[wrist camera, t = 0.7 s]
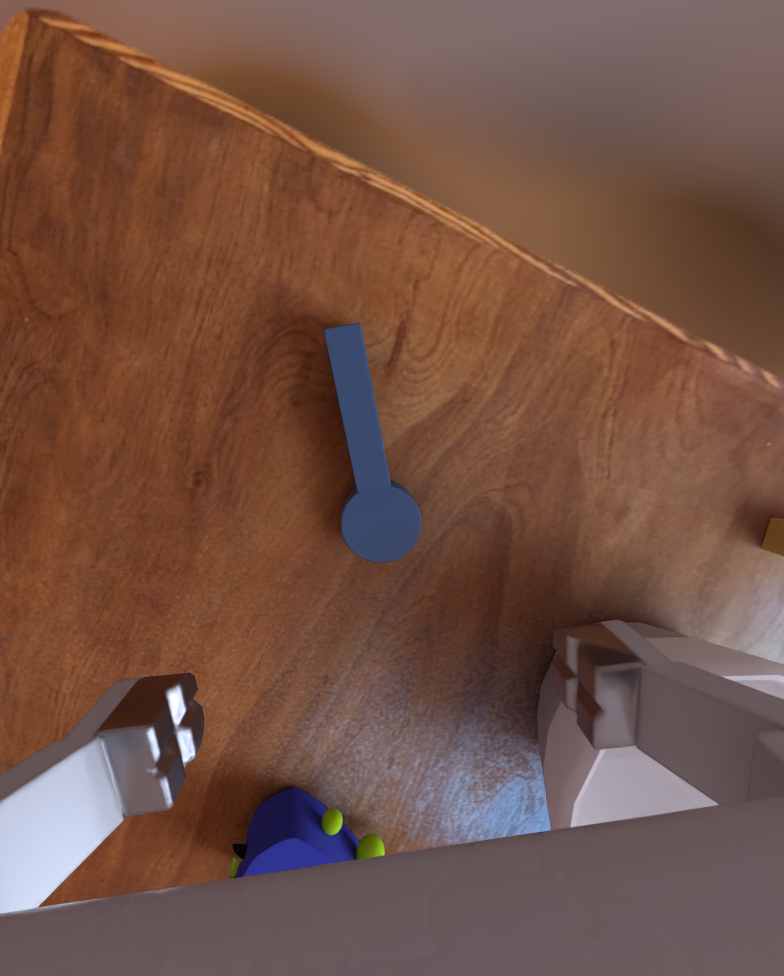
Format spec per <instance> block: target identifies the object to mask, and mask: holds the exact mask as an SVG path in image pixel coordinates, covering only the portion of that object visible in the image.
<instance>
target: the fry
mask: <svg viewBox="0 0 784 976" xmlns="http://www.w3.org/2000/svg"><path fill="white" fill-rule="evenodd" d="M761 548H762V549H764V550H767V551H770V552H773V553H775V554H778V555H781V556H784V519H782V518H771V519H770V522H769V525H768V528H767V531H766V534H765V537H764V540H763V544H762V547H761Z"/></svg>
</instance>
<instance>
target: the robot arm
mask: <svg viewBox="0 0 784 976" xmlns="http://www.w3.org/2000/svg"><path fill="white" fill-rule="evenodd" d="M552 646H553V647H554V648H555V650H556V651H557V652H558V655H557V656H556V657H555V659H554V660H553V662H552V676H553V680H554V684H555V688H556V691H557V693H558V695H559V697H560V699H561V701H562V702H563V704H564V705H565V707H566V708H568V709H570V710H571V711H573V712H575V713H577V725H578V726H579V728H580V729H581V731H582V732H583V734H584V735H585V737H586V738H587V739H588V741H589V742H590V744H591V745H592V747H593V748H594V750H601V749H610V748H619V747H629V746H636V748H637V749H639V750H640V751H642V752H643V753H644V754H646V755H647V756H649V757H650V758H652V759H653V760H655V761H656V762H658V763H659V764H660V765H662V766H663V767H665V768H666V769H668V770H669V771H671V772H672V773H674V774H675V775H676V776H678V777H679V778H681V779H682V780H684V781H685V782H687V783H688V784H690V785H691V786H693V787H694V788H695V789H697V790H698V791H700V792H701V793H703V794H704V795H706V796H707V797H709V798H710V799H711V800H713V801H714V802H716V803H717V804H719V805H715V806H709V807H702V808H696V809H689V810H683V811H676V812H670V813H663V814H657V815H650V816H644V817H637V818H631V819H624V820H617V821H611V822H604V823H597V824H590V825H584V826H577V827H570V828H563V829H557V830H550V831H543V832H537V833H530V834H523V835H516V836H510V837H503V838H496V839H489V840H483V841H476V842H469V843H462V844H456V845H449V846H443V847H436V848H429V849H423V850H416V851H410V852H403V853H396V854H390V855H383V856H376V857H370V858H363V859H357V860H350V861H343V862H337V863H330V864H324V865H317V866H310V867H304V868H297V869H291V870H284V871H277V872H271V873H264V874H258V875H251V876H244V877H238V878H231V879H224V880H218V881H211V882H204V883H198V884H191V885H185V886H178V887H171V888H165V889H158V890H151V891H145V892H138V893H131V894H125V895H118V896H112V897H105V898H98V899H92V900H85V901H78V902H72V903H65V904H59V905H52V906H45V907H39V908H37V907H38V906H39V905H40V904H41V903H42V902H43V901H44V900H45V899H46V898H47V897H48V896H49V895H50V894H51V893H52V892H53V891H54V890H55V889H56V888H57V887H58V886H59V885H60V884H61V883H62V882H63V881H64V880H65V879H66V878H67V877H68V876H69V875H70V874H71V873H72V872H73V871H74V870H75V869H76V868H77V867H78V866H79V865H80V864H81V863H82V862H83V861H84V860H85V859H86V858H87V857H88V856H89V855H90V854H91V853H92V852H93V851H94V850H95V849H96V848H97V847H98V846H99V845H100V844H101V843H102V842H103V841H104V840H105V838H106V837H107V836H108V835H109V834H110V833H111V832H112V831H113V830H114V829H115V828H116V827H117V826H118V825H119V824H120V823H121V822H122V821H123V820H124V819H123V817H129V816H135V815H141V814H147V813H152V812H158V811H164V810H170V809H171V808H172V805H173V803H174V801H175V799H176V797H177V795H178V793H179V791H180V789H181V786H182V784H183V782H184V780H185V778H186V773H185V769H184V766H185V765H186V764H188V763H189V762H190V761H191V760H192V759H193V758H194V757H196V754H197V752H198V750H199V748H200V745H201V742H202V737H203V732H204V714H203V709H202V706H201V705H199V704H198V703H197V702H196V701H195V700H194V699H193V697H194V696H195V694H196V692H197V690H198V687H197V683H196V679H195V676H194V675H192V674H191V673H181V674H171V675H161V676H151V677H144V678H133V679H125V680H120V681H117V682H115V683H113V684H112V685H111V686H110V688H109V689H108V690H107V691H106V692H105V693H104V694H103V695H102V696H101V698H100V699H99V700H98V701H97V702H96V703H95V704H94V705H93V707H92V708H91V709H90V710H89V711H88V712H87V713H86V714H85V715H84V717H83V718H82V719H81V720H80V721H79V722H78V723H77V724H76V726H75V727H74V728H73V729H72V730H71V731H70V732H69V733H68V734H67V736H66V737H65V738H64V739H63V740H62V741H56V742H52V743H51V744H49V745H47V746H46V747H44V748H43V749H41V750H39V751H38V752H36V753H34V754H33V755H31V756H29V757H28V758H26V759H24V760H23V761H21V762H20V763H18V764H16V765H15V766H13V767H11V768H10V769H8V770H6V771H5V772H3V773H1V774H0V976H784V699H781V698H778V697H775V696H773V695H770V694H767V693H765V692H762V691H759V690H756V689H754V688H751V687H748V686H746V685H743V684H740V683H737V682H735V681H732V680H729V679H727V678H724V677H721V676H718V675H716V674H713V673H710V672H708V671H705V670H702V669H699V668H697V667H694V666H691V665H689V664H686V663H683V662H680V661H679V662H672V661H671V660H670V659H668V658H667V657H666V656H665V655H664V654H662V653H661V652H660V651H659V650H658V649H656V648H655V647H654V646H653V645H652V644H650V643H649V642H648V641H647V640H645V639H644V638H643V637H642V636H641V635H639V634H638V633H637V632H636V631H635V630H633V629H632V628H631V627H630V626H629V625H627V624H626V623H625V622H624V621H621V620H618V619H617V620H611V621H604V622H598V623H594V624H587V625H580V626H573V627H565V628H558V629H554V632H553V635H552Z"/></svg>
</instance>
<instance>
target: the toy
mask: <svg viewBox="0 0 784 976" xmlns="http://www.w3.org/2000/svg"><path fill="white" fill-rule="evenodd" d="M233 850H234V852H235V853H236V855H237V856H238V857H240V858H241V859H243V860H242V861H241V862H240V864H239V866H238V860H236V859H235V856H233V861H232V867H231V874H230V879H231V878H238V877H244V876H251V875H258V874H264V873H271V872H277V871H284V870H291V869H297V868H304V867H310V866H317V865H324V864H330V863H337V862H343V861H350V860H357V859H363V858H370V857H376V856H383V855H384V853H385V851H384V845H383V842H382V840H381V839H380V838H379V837H378V836H377V835H375V834H368V835H366V836H365V837H363V838H362V839H361V841H359V840H358V839H357V838H356V837H355V835H354V834H353V833H352V832H351V831H350V829H349V828H348V827H347V826H346V825H345V824H344V823H343V818H342V814H341V812H340V811H339V810H338V809H336V808H330V809H328V808H327V807H326V806H325V805H324V804H322V803H321V802H319V801H318V800H316V799H315V798H313V797H312V796H310V795H309V794H307V793H305V792H303V791H302V790H300V789H298V788H291V789H287V790H284V791H282V792H280V793H277V794H276V795H274V796H272V797H271V798H269V799H268V800H266V801H265V802H264V803H262V804H261V805H260V806H259V808H258V809H257V810H256V812H255V814H254V815H253V817H252V820H251V822H250V824H249V828H248V833H247V840H246V844H233ZM237 866H238V870H237ZM236 872H237V873H236Z"/></svg>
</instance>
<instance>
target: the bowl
mask: <svg viewBox="0 0 784 976" xmlns="http://www.w3.org/2000/svg"><path fill="white" fill-rule="evenodd" d="M625 623H626V624H627V625H629V626H630V627H631V628H632V629H633V630H635V631H636V632H637V633H638V634H639V635H641V636H642V637H643V638H644V639H645V640H647V641H648V642H649V643H650V644H652V645H653V646H654V647H655V648H656V649H658V650H659V651H660V652H661V653H662V654H664V655H665V656H666V657H667V658H668V659H670V660H671V661H672V662H679V661H680V662H683V663H686V664H689V665H691V666H694V667H697V668H699V669H702V670H705V671H708V672H710V673H713V674H716V675H718V676H721V677H724V678H727V679H729V680H732V681H735V682H737V683H740V684H743V685H746V686H748V687H751V688H754V689H756V690H759V691H762V692H765V693H767V694H770V695H773V696H775V697H778V698H781V699H784V664H780V663H777V662H774V661H770V660H767V659H764V658H760V657H757V656H754V655H750V654H747V653H744V652H740V651H737V650H733V649H730V648H727V647H723V646H720V645H716V644H713V643H709V642H706V641H702V640H699V639H695V638H692V637H688V636H685V635H681V634H678V633H675V632H671V631H668V630H664V629H661V628H657V627H654V626H650V625H647V624H643V623H640V622H625ZM557 655H558V652H556V654H555V655H554V657H553V659H552V662H553V660H554V659H555V657H556V656H557ZM552 662H551V664H550V666H549V668H548V671H547V673H546V675H545V677H544V680H543V682H542V684H541V686H540V694H539V702H538V710H537V730H538V742H539V749H540V756H541V762H542V769H543V776H544V782H545V790H546V800H547V807H548V814H549V820H550V827H551V830H557V829H563V828H570V827H577V826H584V825H590V824H597V823H604V822H611V821H617V820H624V819H631V818H637V817H644V816H650V815H657V814H663V813H670V812H676V811H683V810H689V809H696V808H702V807H709V806H715V805H719V804H717V803H716V802H714V801H713V800H711V799H710V798H709V797H707V796H706V795H704V794H703V793H701V792H700V791H698V790H697V789H695V788H694V787H693V786H691V785H690V784H688V783H687V782H685V781H684V780H682V779H681V778H679V777H678V776H676V775H675V774H674V773H672V772H671V771H669V770H668V769H666V768H665V767H663V766H662V765H660V764H659V763H658V762H656V761H655V760H653V759H652V758H650V757H649V756H647V755H646V754H644V753H643V752H642V751H640V750H639V749H637V748H636V746H629V747H619V748H610V749H601V750H594V748H593V747H592V745H591V744H590V742H589V741H588V739H587V738H586V737H585V735H584V734H583V732H582V731H581V729H580V728H579V726H578V725H577V713H575V712H573V711H571V710H570V709H568V708H566V707H565V705H564V704H563V702H562V701H561V699H560V697H559V695H558V693H557V691H556V688H555V684H554V680H553V676H552Z"/></svg>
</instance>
